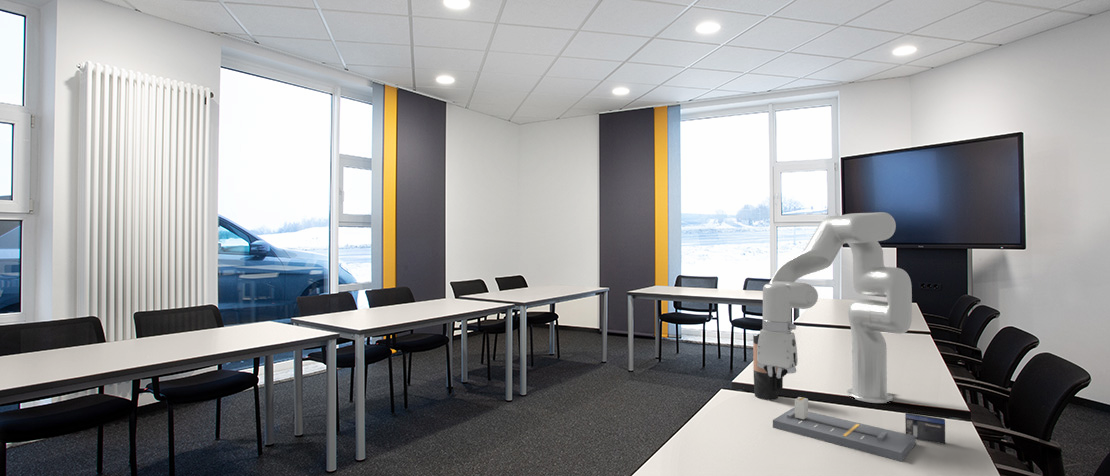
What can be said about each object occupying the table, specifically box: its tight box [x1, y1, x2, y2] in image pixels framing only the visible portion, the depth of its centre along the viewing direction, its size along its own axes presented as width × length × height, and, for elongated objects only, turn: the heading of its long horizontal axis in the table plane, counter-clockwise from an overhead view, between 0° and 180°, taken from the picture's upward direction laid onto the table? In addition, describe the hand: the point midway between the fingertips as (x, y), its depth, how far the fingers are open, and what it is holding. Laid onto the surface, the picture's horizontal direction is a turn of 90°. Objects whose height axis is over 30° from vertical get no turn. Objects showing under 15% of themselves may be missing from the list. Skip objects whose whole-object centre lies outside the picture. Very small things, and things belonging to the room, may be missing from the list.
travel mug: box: [752, 333, 779, 401], centre depth 167 cm, size 8×8×20 cm
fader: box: [794, 396, 809, 419], centre depth 141 cm, size 3×2×5 cm
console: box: [772, 407, 917, 462], centre depth 134 cm, size 14×30×3 cm, turn 43°
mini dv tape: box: [904, 412, 946, 445], centre depth 130 cm, size 8×2×6 cm, turn 55°
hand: (776, 390), depth 146 cm, fingers closed
